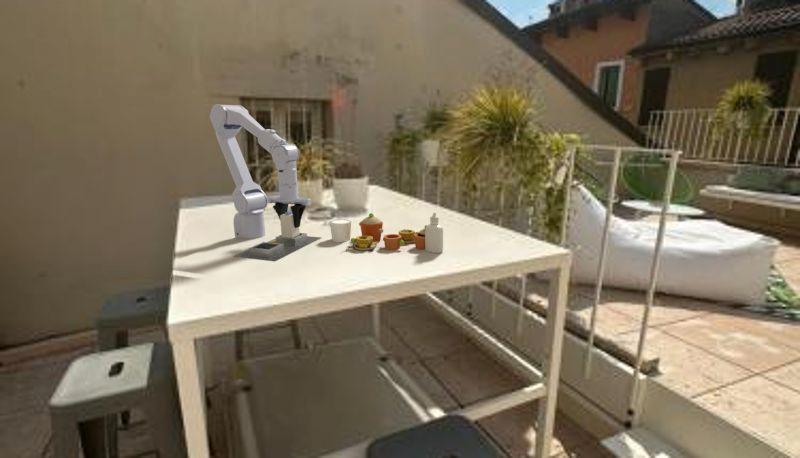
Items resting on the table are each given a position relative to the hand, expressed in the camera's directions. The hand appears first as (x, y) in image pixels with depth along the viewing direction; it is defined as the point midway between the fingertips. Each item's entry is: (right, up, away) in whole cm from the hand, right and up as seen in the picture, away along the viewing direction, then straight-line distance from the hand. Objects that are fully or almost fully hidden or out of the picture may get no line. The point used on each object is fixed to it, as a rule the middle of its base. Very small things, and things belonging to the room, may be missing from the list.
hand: (291, 226), depth 135 cm
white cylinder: (+15, -5, +3) cm, 17 cm away
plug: (0, -3, 0) cm, 3 cm away
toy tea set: (+32, -6, +1) cm, 33 cm away
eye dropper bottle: (+45, -8, -6) cm, 46 cm away
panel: (-2, -7, -4) cm, 8 cm away
